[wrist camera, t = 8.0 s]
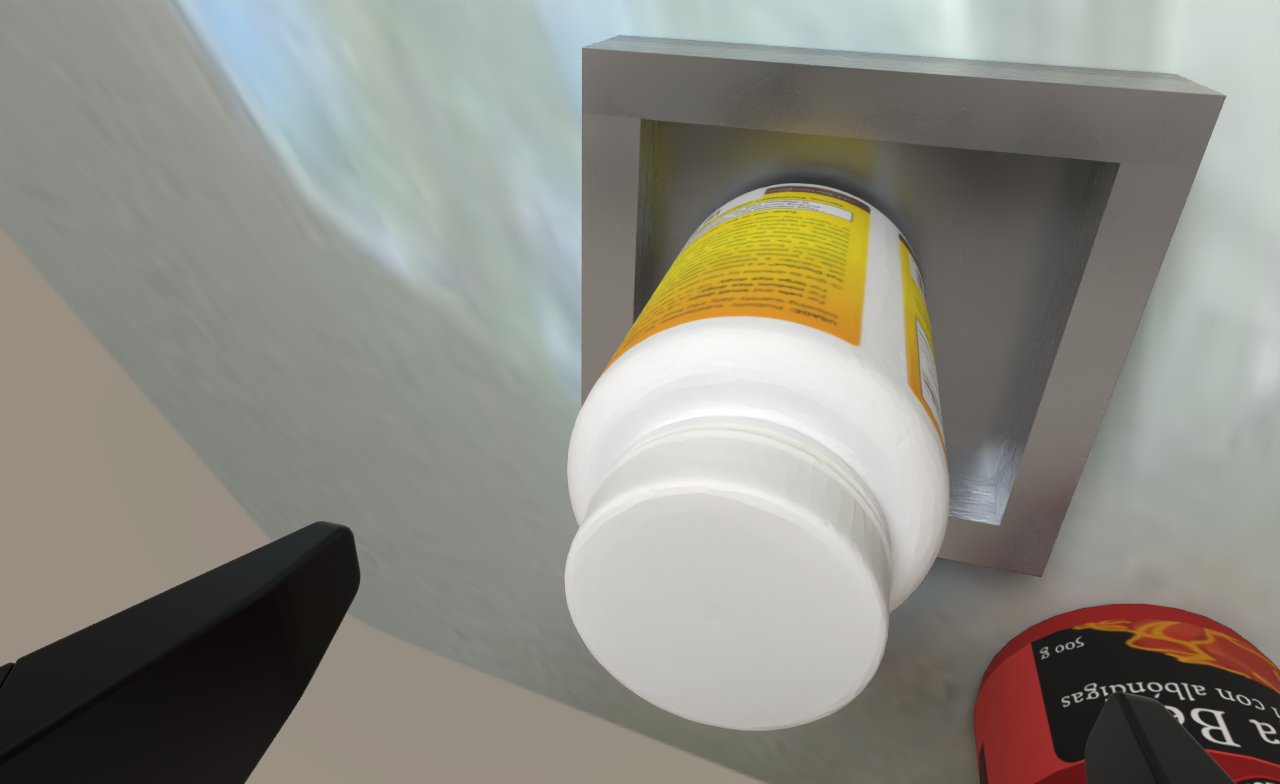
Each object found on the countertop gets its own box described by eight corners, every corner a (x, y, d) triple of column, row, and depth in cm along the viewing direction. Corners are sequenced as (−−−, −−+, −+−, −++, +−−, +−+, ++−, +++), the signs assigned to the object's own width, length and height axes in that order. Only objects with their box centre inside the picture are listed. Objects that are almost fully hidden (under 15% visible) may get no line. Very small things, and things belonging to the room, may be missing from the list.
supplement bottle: (630, 289, 19) (420, 573, 10) (805, 119, 16) (713, 315, 8) (789, 445, 20) (716, 823, 11) (981, 309, 17) (1080, 678, 8)
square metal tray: (1176, 74, 15) (1225, 95, 13) (1023, 509, 20) (1041, 577, 18) (619, 35, 17) (582, 48, 15) (610, 435, 22) (581, 488, 20)
